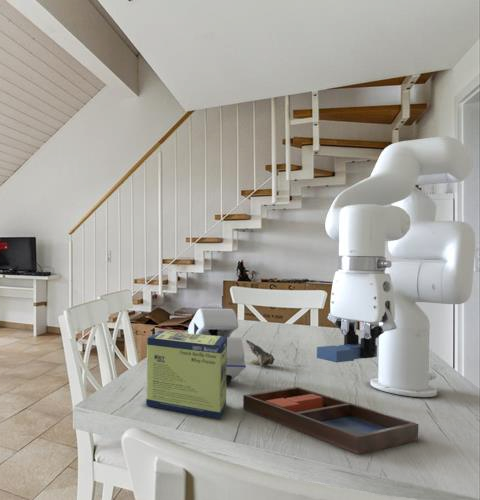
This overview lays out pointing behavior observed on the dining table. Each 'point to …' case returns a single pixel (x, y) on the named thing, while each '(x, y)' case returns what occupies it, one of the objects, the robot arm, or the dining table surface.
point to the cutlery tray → (336, 421)
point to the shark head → (260, 355)
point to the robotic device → (221, 325)
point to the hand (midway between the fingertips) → (359, 355)
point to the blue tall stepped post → (341, 352)
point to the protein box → (187, 373)
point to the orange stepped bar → (299, 402)
